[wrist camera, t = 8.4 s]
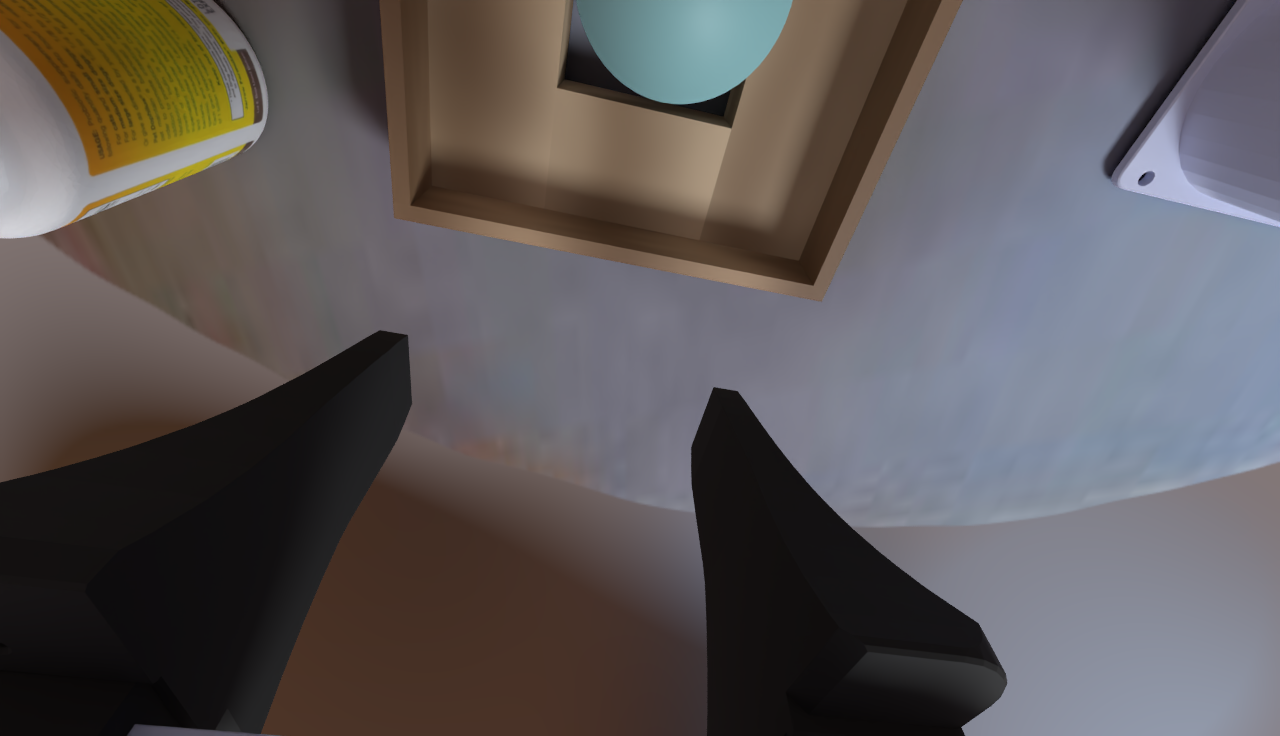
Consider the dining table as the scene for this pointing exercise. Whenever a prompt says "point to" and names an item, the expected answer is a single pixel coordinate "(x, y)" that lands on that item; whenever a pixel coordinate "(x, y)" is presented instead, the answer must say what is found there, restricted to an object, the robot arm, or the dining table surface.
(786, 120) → the box
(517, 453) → the dining table surface
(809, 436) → the dining table surface
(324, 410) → the robot arm
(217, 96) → the supplement bottle
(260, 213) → the dining table surface
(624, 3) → the peg
